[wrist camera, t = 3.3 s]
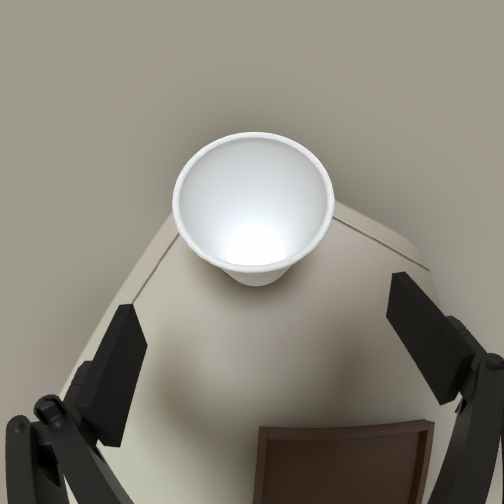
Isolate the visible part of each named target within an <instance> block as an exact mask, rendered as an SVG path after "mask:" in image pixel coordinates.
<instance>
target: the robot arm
mask: <svg viewBox="0 0 504 504" xmlns="http://www.w3.org/2000/svg"><path fill="white" fill-rule="evenodd" d="M386 318H387V319H388V321H389V322H390V324H391V325H392V327H393V328H394V330H395V331H396V333H397V334H398V336H399V338H400V339H401V341H402V342H403V344H404V345H405V347H406V349H407V350H408V352H409V353H410V355H411V357H412V358H413V360H414V362H415V363H416V365H417V367H418V368H419V370H420V371H421V373H422V375H423V376H424V378H425V380H426V382H427V383H428V385H429V387H430V388H431V390H432V392H433V393H434V395H435V397H436V399H437V400H438V402H439V404H440V405H443V404H446V403H448V402H451V401H453V400H455V398H456V396H457V394H458V392H459V391H460V393H461V395H462V396H463V397H462V399H461V401H460V403H459V405H458V406H457V408H456V410H455V413H457V411H458V413H457V417H456V421H455V425H454V429H453V432H452V436H451V439H450V443H449V446H448V449H447V452H446V456H445V459H444V462H443V464H442V467H441V470H440V473H439V476H438V478H437V481H436V484H435V486H434V489H433V491H432V494H431V496H430V499H429V501H428V503H427V504H485V502H486V499H487V496H488V492H489V488H490V484H491V480H492V476H493V472H494V468H495V462H496V458H497V453H498V447H499V442H500V435H501V444H502V461H503V462H502V463H503V499H502V504H504V359H503V358H502V357H501V356H499V355H497V354H494V353H487V352H486V351H485V350H484V349H483V347H482V346H481V345H480V344H479V342H477V340H476V339H475V338H474V337H473V336H472V335H471V333H470V332H469V331H468V330H467V329H466V327H465V326H464V325H463V324H462V323H461V322H460V320H458V319H456V318H455V317H453V316H447V317H445V316H444V314H443V313H442V312H441V311H440V310H439V309H438V307H437V306H436V305H435V304H434V303H433V302H432V301H431V300H430V298H429V297H428V296H427V295H426V294H425V293H424V292H423V291H422V289H421V288H420V287H419V286H418V285H417V284H416V283H415V282H414V281H413V280H412V279H411V277H410V276H409V275H408V274H407V273H406V272H405V271H404V272H398V273H392V280H391V287H390V295H389V302H388V308H387V314H386ZM147 346H148V345H147V343H146V340H145V337H144V334H143V332H142V329H141V326H140V323H139V320H138V318H137V315H136V312H135V309H134V306H133V304H124V305H119V307H118V309H117V310H116V312H115V314H114V316H113V319H112V321H111V323H110V325H109V327H108V329H107V331H106V333H105V335H104V337H103V339H102V341H101V343H100V345H99V348H98V350H97V352H96V354H95V356H94V359H93V361H84V363H83V364H82V365H81V366H80V367H79V368H78V369H77V371H76V373H75V376H74V378H73V380H72V382H71V385H70V386H69V389H68V391H67V393H66V395H65V398H64V400H63V402H62V401H61V399H60V398H59V397H58V396H56V395H46V396H44V397H42V398H40V399H39V400H38V402H37V403H36V404H35V406H34V414H35V415H36V417H37V418H38V419H39V420H40V421H38V422H30V421H29V419H27V417H26V416H23V415H17V416H15V417H13V418H12V419H11V420H10V421H9V422H8V424H7V427H6V447H5V448H6V451H5V453H6V454H5V455H6V456H5V457H6V485H7V498H8V504H69V499H68V495H67V490H66V485H65V480H64V476H65V478H66V480H67V482H68V484H69V486H70V489H71V491H72V493H73V495H74V497H75V498H76V500H77V502H78V504H134V503H133V501H132V500H131V499H130V497H129V496H128V494H127V493H126V492H125V490H124V489H123V487H122V486H121V484H120V483H119V481H118V480H117V478H116V477H115V475H114V473H113V472H112V470H111V469H110V467H109V465H108V464H107V462H106V460H105V459H104V457H103V455H102V454H101V452H100V450H99V449H98V448H97V446H96V444H97V440H98V439H99V440H100V442H101V443H102V444H103V445H104V446H110V447H120V446H121V441H122V437H123V433H124V429H125V425H126V421H127V417H128V413H129V410H130V406H131V402H132V398H133V395H134V391H135V387H136V384H137V380H138V377H139V373H140V370H141V366H142V363H143V359H144V356H145V353H146V349H147Z"/></svg>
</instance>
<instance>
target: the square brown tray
mask: <svg viewBox="0 0 504 504" xmlns="http://www.w3.org/2000/svg"><path fill="white" fill-rule="evenodd" d="M434 424H435V422H432V421H428V420H417V421H410V422H402V423H393V424H383V425H372V426H357V427H336V428H281V427H259V438H258V450H257V462H256V474H255V485H254V496H253V504H421V502H422V498H423V493H424V488H425V484H426V478H427V473H428V467H429V462H430V455H431V448H432V441H433V433H434Z"/></svg>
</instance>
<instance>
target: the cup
mask: <svg viewBox="0 0 504 504" xmlns="http://www.w3.org/2000/svg"><path fill="white" fill-rule="evenodd" d="M172 209H173V216H174V221H175V223H176V226H177V229H178V231H179V233H180V235H181V236H182V238H183V239H184V241H185V242H186V244H187V245H188V246H189V247H190V248H191V249H192V250H193V251H194V252H195V253H196V254H197V255H198V256H199V257H201V258H202V259H204V260H206V261H207V262H209V263H211V264H212V265H214V266H217V267H220V268H221V269H222V270H223V271H225V272H226V273H227V274H228V275H230V276H231V277H232V278H233V279H235V280H236V281H238V282H240V283H242V284H245V285H248V286H264V285H268V284H270V283H272V282H274V281H276V280H277V279H278V278H280V277H281V276H282V275H283V274H284V273H285V272H286V271H287V270H288V269H289V268H290V267H291V266H292V265H293V264H294V263H296V262H298V261H300V260H301V259H302V258H304V257H305V256H306V255H308V254H309V253H310V252H312V251H313V250H314V248H315V247H316V246H317V245H318V244H319V243H320V242H321V241H322V239H323V238H324V236H325V234H326V232H327V230H328V229H329V227H330V224H331V220H332V217H333V213H334V193H333V187H332V183H331V181H330V178H329V176H328V173H327V171H326V170H325V168H324V167H323V166H322V164H321V163H320V161H319V160H318V159H317V158H316V157H315V156H314V155H313V154H312V153H311V152H310V151H309V150H307V149H306V148H305V147H303V146H302V145H300V144H299V143H297V142H295V141H292V140H290V139H288V138H286V137H282V136H279V135H275V134H272V133H262V132H246V133H239V134H234V135H229V136H226V137H224V138H221V139H218V140H216V141H214V142H212V143H211V144H209V145H207V146H205V147H204V148H202V149H201V150H200V151H199V152H198V153H196V154H195V155H194V156H193V157H192V158H191V159H190V160H189V161H188V163H187V164H186V165H185V166H184V168H183V170H182V171H181V173H180V175H179V177H178V179H177V182H176V185H175V188H174V191H173V201H172Z"/></svg>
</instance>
